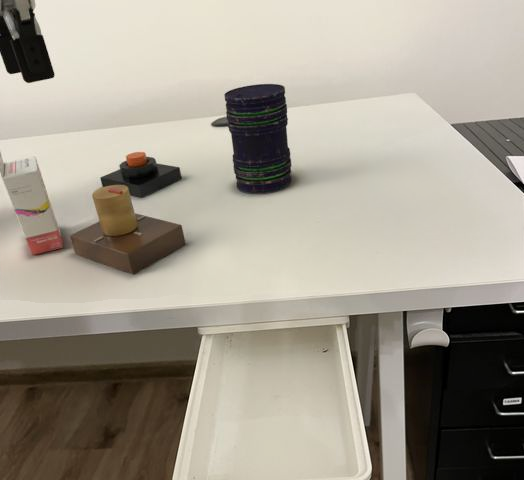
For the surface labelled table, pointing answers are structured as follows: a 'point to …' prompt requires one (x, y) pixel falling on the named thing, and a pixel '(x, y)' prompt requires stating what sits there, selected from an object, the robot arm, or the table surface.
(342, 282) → the table surface
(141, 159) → the button
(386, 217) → the table surface
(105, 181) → the button block
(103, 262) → the dial panel
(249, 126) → the dark blue barrel
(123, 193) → the dial
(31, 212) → the ink cartridge box
